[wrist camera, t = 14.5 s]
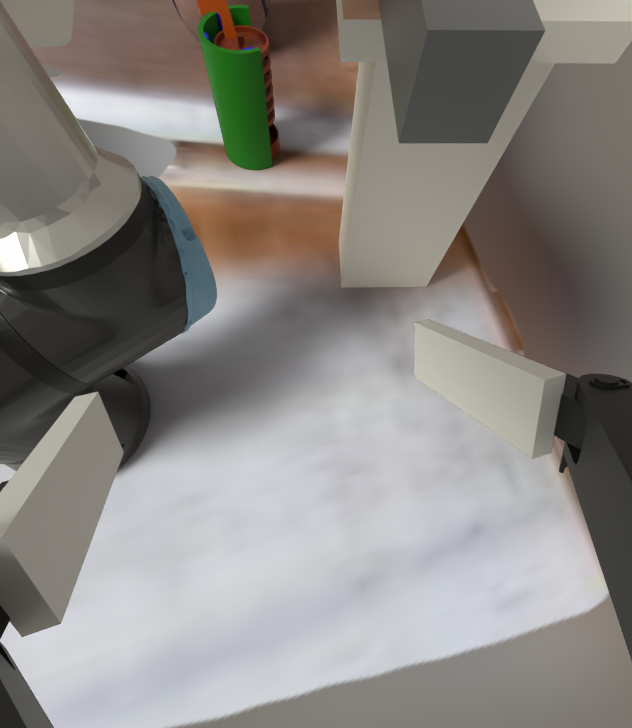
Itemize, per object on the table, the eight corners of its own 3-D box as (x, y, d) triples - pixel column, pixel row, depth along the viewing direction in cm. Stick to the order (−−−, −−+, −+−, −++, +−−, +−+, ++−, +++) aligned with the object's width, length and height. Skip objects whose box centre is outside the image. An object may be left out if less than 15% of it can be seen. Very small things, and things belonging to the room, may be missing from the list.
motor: (290, 160, 56) (280, -6, 37) (239, 178, 54) (202, 14, 36) (265, 121, 59) (243, -50, 40) (216, 137, 57) (171, -33, 39)
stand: (323, 300, 47) (343, 12, 19) (321, 230, 51) (335, -94, 23) (445, 299, 47) (650, 14, 19) (434, 229, 51) (587, -91, 23)
